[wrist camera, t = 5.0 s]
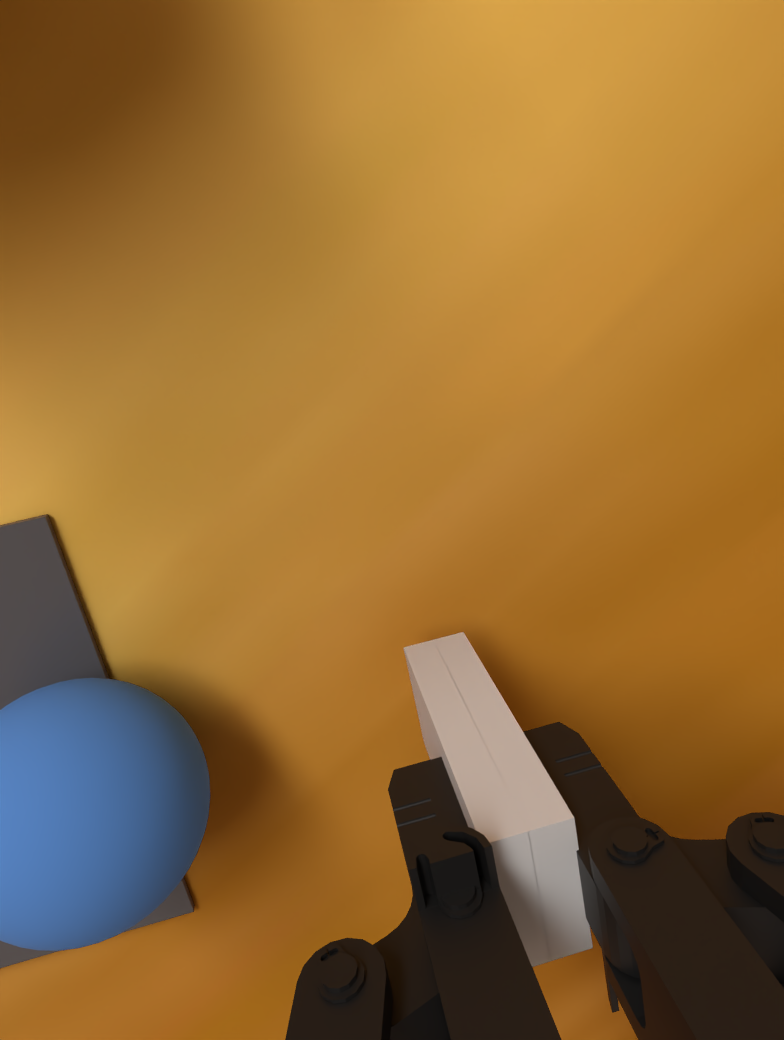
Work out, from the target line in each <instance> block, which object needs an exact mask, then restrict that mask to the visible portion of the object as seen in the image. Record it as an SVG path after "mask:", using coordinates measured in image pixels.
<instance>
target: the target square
mask: <svg viewBox="0 0 784 1040" xmlns="http://www.w3.org/2000/svg"><path fill="white" fill-rule="evenodd" d="M80 678H103V679H109V677H108V674H107V671H106V669H105V666H104V663H103V661H102V658H101V655H100V653H99V650H98V647H97V645H96V642H95V639H94V637H93V634H92V631H91V629H90V626H89V623H88V621H87V618H86V615H85V613H84V610H83V607H82V605H81V602H80V599H79V597H78V594H77V591H76V589H75V586H74V583H73V581H72V578H71V575H70V573H69V570H68V567H67V565H66V562H65V559H64V557H63V554H62V551H61V549H60V546H59V543H58V541H57V538H56V535H55V533H54V530H53V527H52V525H51V522H50V519H49V517H48V514H46V515H42V516H38V517H33V518H29V519H25V520H20V521H16V522H12V523H7V524H3V525H0V710H1V709H2V708H4V707H5V706H6V705H8V704H10V703H11V702H13V701H15V700H16V699H18V698H20V697H21V696H23V695H25V694H28V693H30V692H32V691H34V690H37V689H39V688H42V687H45V686H48V685H51V684H54V683H58V682H62V681H67V680H72V679H80ZM191 912H194V903H193V901H192V898H191V895H190V893H189V890H188V887H187V885H186V882H185V879H184V877H183V878H182V880H181V881H180V883H179V884H178V885H177V887H176V888H175V889H174V890H173V891H172V892H171V894H170V895H169V896H168V897H167V898H166V899H165V900H164V902H163V903H161V904H160V905H159V906H158V907H157V908H156V909H155V910H154V911H153V912H152V913H151V914H149V915H148V916H147V917H145V918H144V919H143V920H141V921H140V922H138V923H137V924H136V925H134V926H133V927H131V928H129V929H127V930H125V931H129V930H132V929H136V928H139V927H143V926H146V925H149V924H153V923H156V922H160V921H163V920H167V919H170V918H173V917H177V916H180V915H184V914H187V913H191ZM125 931H124V932H125ZM59 951H60V950H59ZM54 952H57V951H45V950H33V949H27V948H21V947H17V946H14V945H11V944H8V943H5V942H2V941H0V968H2V967H6V966H9V965H12V964H16V963H19V962H23V961H26V960H30V959H33V958H36V957H40V956H43V955H47V954H50V953H54Z"/></svg>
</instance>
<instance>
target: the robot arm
mask: <svg viewBox="0 0 784 1040" xmlns="http://www.w3.org/2000/svg"><path fill="white" fill-rule="evenodd" d="M404 652H405V657H406V662H407V666H408V671H409V675H410V680H411V685H412V689H413V694H414V698H415V703H416V707H417V712H418V717H419V721H420V726H421V730H422V735H423V740H424V743H425V746H426V749H427V752H428V755H429V757H430V760H427V761H424V762H420V763H417V764H413V765H410V766H406V767H402V768H399V769H395V770H394V771H393V775H392V778H391V781H390V785H389V788H388V791H389V795H390V799H391V803H392V807H393V811H394V816H395V820H396V824H397V828H398V832H399V836H400V840H401V844H402V848H403V853H404V857H405V861H406V865H407V869H408V873H409V877H410V881H411V885H412V890H413V898H412V903H411V907H410V909H409V911H408V913H407V915H406V917H405V918H404V920H403V921H402V922H401V923H400V925H399V926H398V927H397V928H396V929H395V930H393V931H392V932H391V933H390V934H388V935H387V936H386V937H384V938H383V939H381V940H380V941H378V942H377V943H375V944H374V945H372V944H370V943H368V942H366V941H365V940H363V939H353V938H345V939H341V940H337V941H333V942H330V943H329V944H327V945H325V946H324V947H322V948H321V949H319V950H318V951H316V952H315V953H314V954H313V955H312V957H311V958H310V959H309V960H308V961H307V962H306V964H305V965H304V966H303V969H302V971H301V974H300V976H299V979H298V981H297V985H296V990H295V995H294V1000H293V1005H292V1010H291V1015H290V1020H289V1025H288V1029H287V1034H286V1039H285V1040H561V1038H560V1035H559V1033H558V1030H557V1028H556V1025H555V1023H554V1020H553V1018H552V1015H551V1013H550V1010H549V1008H548V1005H547V1003H546V1000H545V998H544V995H543V993H542V990H541V988H540V985H539V983H538V981H537V978H536V976H535V973H534V971H533V968H532V967H534V966H537V965H540V964H543V963H546V962H550V961H553V960H556V959H559V958H562V957H565V956H569V955H572V954H575V953H578V952H581V951H584V950H588V949H591V948H593V946H592V939H591V932H590V927H591V929H592V931H593V933H594V935H595V937H596V939H597V940H598V942H599V944H600V946H601V948H602V953H603V961H604V968H605V975H606V982H607V990H608V997H609V1001H610V1005H611V1009H612V1013H613V1012H616V1011H619V1007H618V1000H619V1002H620V1004H621V1006H622V1008H623V1010H624V1012H625V1014H626V1016H627V1018H628V1020H629V1022H630V1024H631V1026H632V1028H633V1030H634V1032H635V1034H636V1036H637V1038H638V1040H784V816H783V815H779V814H774V813H770V812H765V813H750V814H747V815H744V816H741V817H738V818H737V819H736V820H735V821H734V822H733V823H732V824H730V825H729V826H728V830H727V834H726V839H722V840H688V839H679V838H675V837H671V836H669V835H668V834H667V833H666V832H665V831H664V830H663V829H661V828H660V827H659V826H658V825H656V824H654V823H652V822H649V821H647V820H645V819H642V818H640V817H639V816H638V815H637V813H636V812H635V810H634V809H633V808H632V806H631V805H630V804H629V802H628V801H627V799H626V798H625V797H624V795H623V794H622V792H621V791H620V790H619V788H618V787H617V786H616V784H615V783H614V781H613V780H612V779H611V777H610V776H609V775H608V773H607V772H606V770H605V769H604V768H603V767H601V763H600V762H599V761H598V759H597V758H596V757H595V755H594V754H592V752H591V750H590V748H589V747H588V746H587V744H586V743H585V741H584V740H583V739H582V737H581V736H580V734H579V733H577V732H575V731H574V730H572V729H570V728H568V727H567V726H565V725H563V724H562V723H560V722H557V723H553V724H550V725H546V726H543V727H539V728H535V729H532V730H528V731H525V732H523V731H522V729H521V728H520V726H519V724H518V723H517V721H516V719H515V718H514V716H513V714H512V713H511V711H510V709H509V708H508V706H507V704H506V703H505V701H504V699H503V698H502V696H501V694H500V693H499V691H498V689H497V687H496V686H495V684H494V682H493V681H492V679H491V677H490V676H489V674H488V672H487V671H486V669H485V667H484V666H483V664H482V662H481V661H480V659H479V657H478V656H477V654H476V652H475V651H474V649H473V647H472V646H471V644H470V642H469V641H468V639H467V637H466V636H465V634H464V632H461V633H457V634H453V635H450V636H446V637H442V638H438V639H434V640H431V641H427V642H423V643H419V644H415V645H412V646H408V647H404ZM617 998H618V999H617Z"/></svg>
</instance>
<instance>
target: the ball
mask: <svg viewBox="0 0 784 1040" xmlns="http://www.w3.org/2000/svg"><path fill="white" fill-rule="evenodd" d="M209 805H210V779H209V772H208V768H207V763H206V759H205V755H204V752H203V750H202V747H201V745H200V743H199V741H198V739H197V737H196V735H195V733H194V732H193V730H192V729H191V727H190V726H189V724H188V723H187V721H186V720H185V719H184V718H183V716H182V715H181V714H180V713H179V712H178V711H177V710H176V709H175V708H174V707H172V706H171V705H170V704H169V703H168V702H166V701H165V700H164V699H162V698H161V697H159V696H157V695H156V694H154V693H152V692H150V691H149V690H147V689H145V688H142V687H139V686H137V685H134V684H131V683H128V682H124V681H119V680H114V679H103V678H80V679H72V680H67V681H62V682H58V683H54V684H51V685H48V686H45V687H42V688H39V689H37V690H34V691H32V692H30V693H28V694H25V695H23V696H21V697H20V698H18V699H16V700H15V701H13V702H11V703H10V704H8V705H6V706H5V707H4V708H2V709H1V710H0V941H2V942H5V943H8V944H11V945H14V946H17V947H21V948H27V949H33V950H45V951H59V950H67V949H75V948H80V947H84V946H88V945H92V944H96V943H99V942H101V941H104V940H106V939H109V938H111V937H114V936H116V935H118V934H120V933H122V932H124V931H125V930H127V929H129V928H131V927H133V926H134V925H136V924H137V923H138V922H140V921H141V920H143V919H144V918H145V917H147V916H148V915H149V914H151V913H152V912H153V911H154V910H155V909H156V908H157V907H158V906H159V905H160V904H161V903H163V902H164V900H165V899H166V898H167V897H168V896H169V895H170V894H171V892H172V891H173V890H174V889H175V888H176V887H177V885H178V884H179V883H180V881H181V880H182V878H183V877H184V875H185V874H186V872H187V871H188V869H189V868H190V866H191V864H192V862H193V860H194V858H195V856H196V854H197V852H198V849H199V847H200V844H201V841H202V839H203V836H204V833H205V829H206V825H207V820H208V816H209Z"/></svg>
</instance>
